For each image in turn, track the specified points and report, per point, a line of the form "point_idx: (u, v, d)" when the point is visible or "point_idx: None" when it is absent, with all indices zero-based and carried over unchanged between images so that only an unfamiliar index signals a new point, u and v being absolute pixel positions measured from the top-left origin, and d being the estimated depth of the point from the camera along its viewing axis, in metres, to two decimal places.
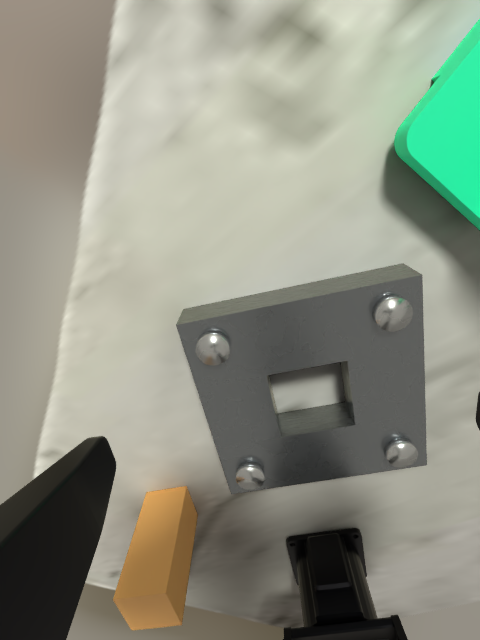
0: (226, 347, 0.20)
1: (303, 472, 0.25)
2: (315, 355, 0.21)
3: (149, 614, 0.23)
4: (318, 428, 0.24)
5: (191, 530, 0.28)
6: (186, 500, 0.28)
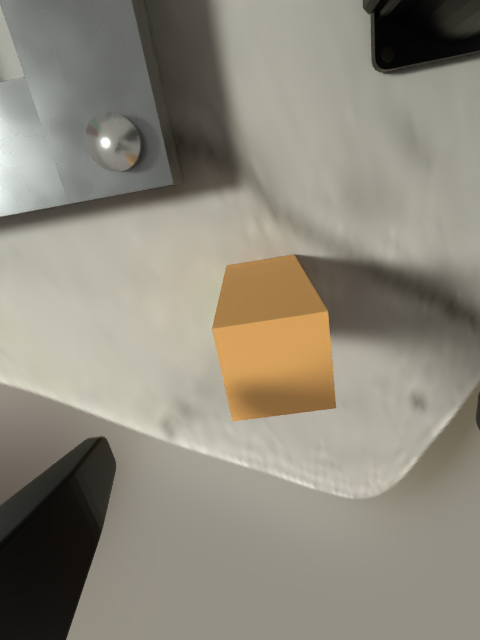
0: None
1: (105, 21, 0.12)
2: None
3: (283, 368, 0.11)
4: None
5: (280, 267, 0.16)
6: (236, 268, 0.17)
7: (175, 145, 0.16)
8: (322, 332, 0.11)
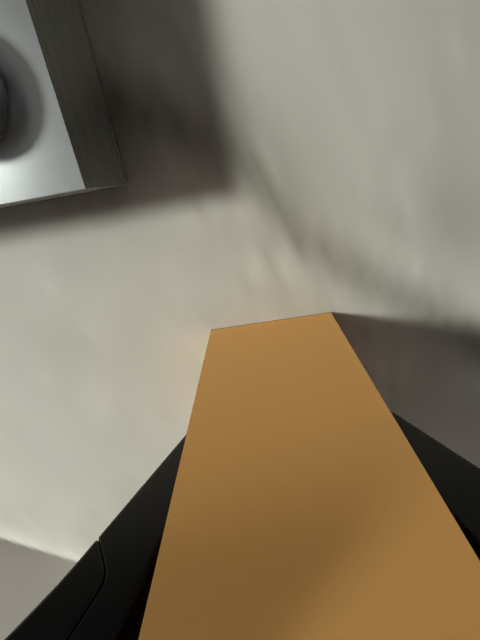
0: None
1: None
2: None
3: None
4: None
5: (312, 350, 0.08)
6: (227, 341, 0.09)
7: (107, 111, 0.08)
8: None
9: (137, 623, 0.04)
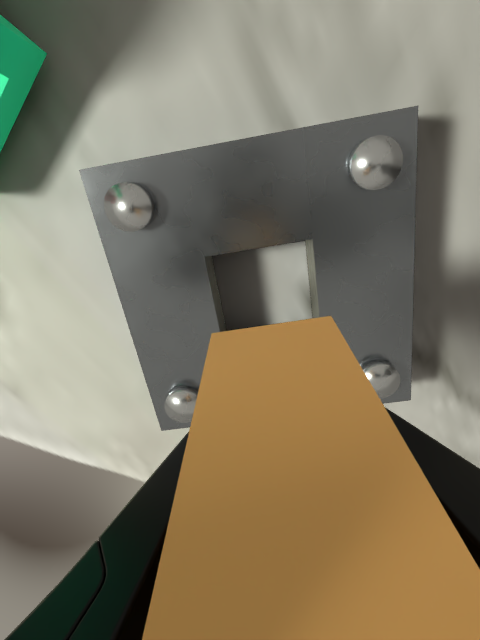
0: (179, 394, 0.18)
1: (390, 309, 0.17)
2: (197, 296, 0.17)
3: None
4: (315, 287, 0.17)
5: (312, 353, 0.08)
6: (228, 345, 0.09)
7: None
8: None
9: (137, 623, 0.04)
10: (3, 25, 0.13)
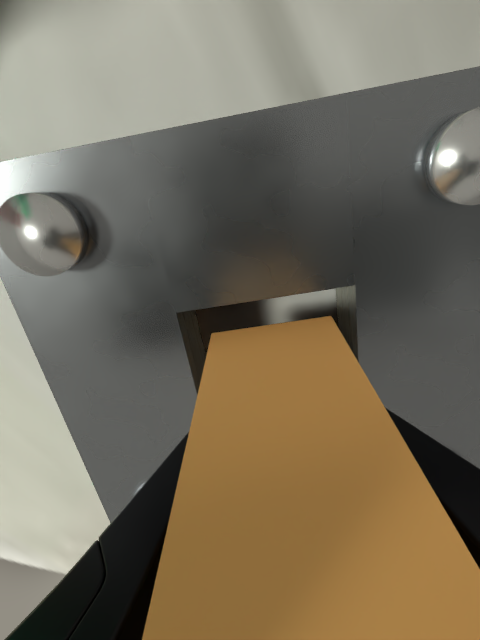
0: None
1: (474, 390, 0.11)
2: (166, 372, 0.11)
3: None
4: None
5: (312, 354, 0.08)
6: (228, 345, 0.09)
7: None
8: None
9: (137, 623, 0.04)
10: None
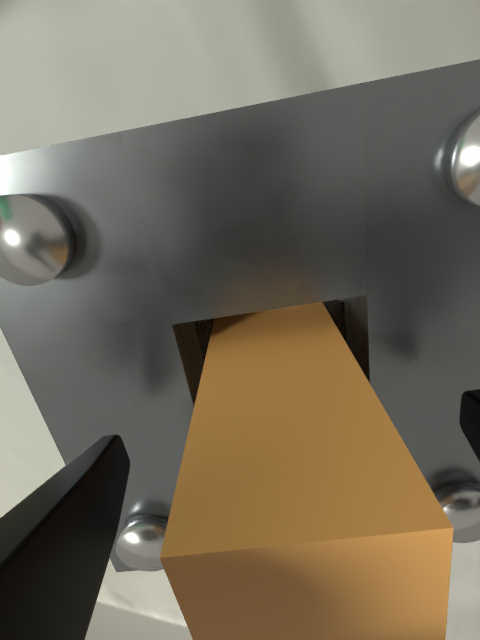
0: (138, 534, 0.11)
1: None
2: (162, 387, 0.10)
3: (330, 625, 0.05)
4: (366, 371, 0.10)
5: (302, 327, 0.10)
6: (229, 323, 0.11)
7: None
8: (432, 566, 0.04)
9: None
10: None
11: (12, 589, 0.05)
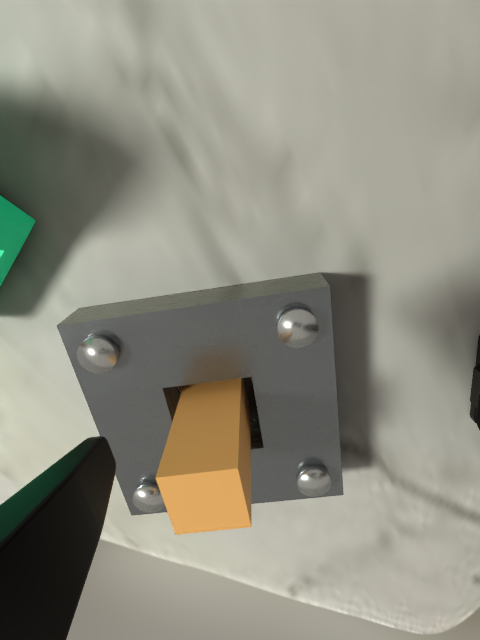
0: (144, 491, 0.22)
1: (320, 427, 0.20)
2: (157, 416, 0.20)
3: (209, 502, 0.15)
4: (257, 409, 0.20)
5: (225, 388, 0.20)
6: None
7: None
8: (235, 480, 0.15)
9: None
10: None
11: None
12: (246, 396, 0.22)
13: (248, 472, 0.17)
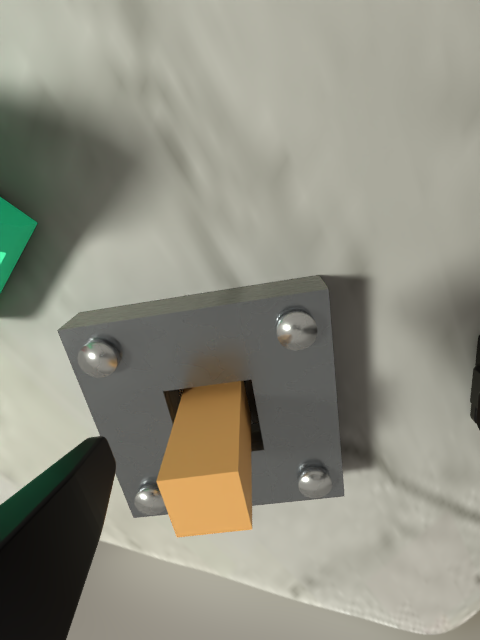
0: (146, 493, 0.22)
1: (320, 429, 0.20)
2: (158, 419, 0.20)
3: (210, 505, 0.15)
4: (257, 411, 0.20)
5: (225, 391, 0.20)
6: None
7: None
8: (235, 483, 0.15)
9: None
10: (1, 222, 0.16)
11: None
12: (246, 398, 0.22)
13: (249, 474, 0.18)
